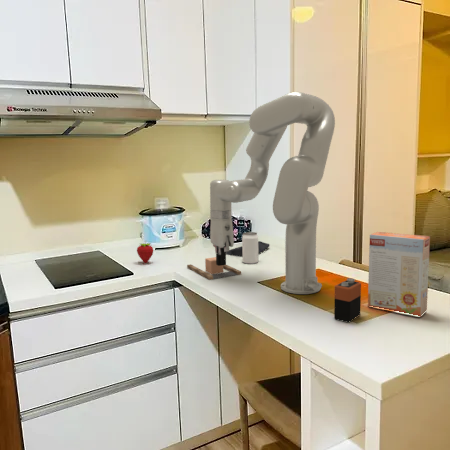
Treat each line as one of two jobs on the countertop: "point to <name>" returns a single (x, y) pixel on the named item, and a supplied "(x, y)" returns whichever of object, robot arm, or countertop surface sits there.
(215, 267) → the block
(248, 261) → the can
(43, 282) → the countertop surface
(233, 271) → the channel
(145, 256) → the strawberry
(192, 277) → the countertop surface
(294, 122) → the robot arm
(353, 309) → the battery
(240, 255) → the dark slate chunk
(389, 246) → the cracker box
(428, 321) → the countertop surface
